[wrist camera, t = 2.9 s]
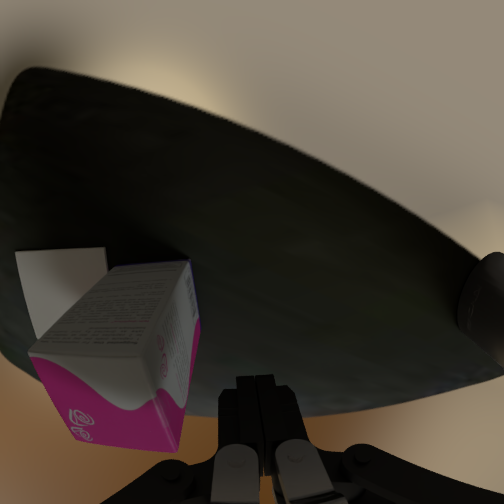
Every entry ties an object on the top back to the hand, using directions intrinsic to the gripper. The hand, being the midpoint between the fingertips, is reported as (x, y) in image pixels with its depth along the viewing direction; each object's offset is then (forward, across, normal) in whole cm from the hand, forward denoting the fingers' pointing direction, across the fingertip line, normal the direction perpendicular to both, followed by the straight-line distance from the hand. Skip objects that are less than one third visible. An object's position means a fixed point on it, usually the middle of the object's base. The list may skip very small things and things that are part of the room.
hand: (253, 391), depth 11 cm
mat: (+10, +14, 0) cm, 17 cm away
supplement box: (+10, +6, 0) cm, 12 cm away
